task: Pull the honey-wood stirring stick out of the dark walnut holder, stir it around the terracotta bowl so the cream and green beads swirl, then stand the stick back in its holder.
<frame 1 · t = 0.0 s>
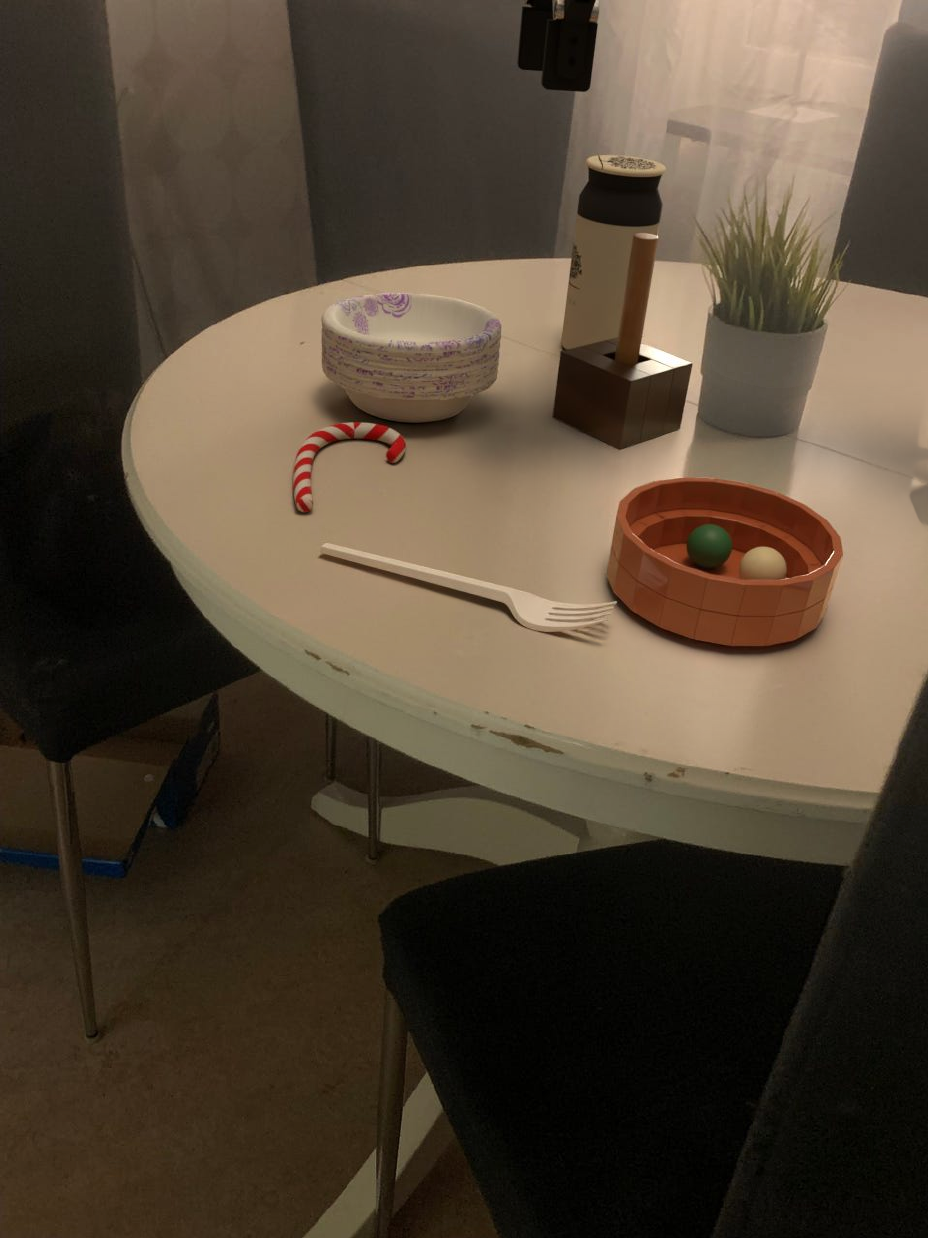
hand: (551, 79, 75), 27 cm above the table, tool pointing down, fingers open, 9 cm apart
green bead: (709, 546, 73), point 2 cm above the table, touching bowl
stick: (630, 333, 90), in the holder
paper bowls: (408, 405, 95), on the table
candy cane: (341, 475, 83), on the table
cream bead: (762, 569, 70), point 2 cm above the table, touching bowl
travel mug: (599, 351, 111), on the table
bowl: (713, 592, 72), on the table
holder: (616, 422, 95), on the table
fork: (458, 596, 69), on the table
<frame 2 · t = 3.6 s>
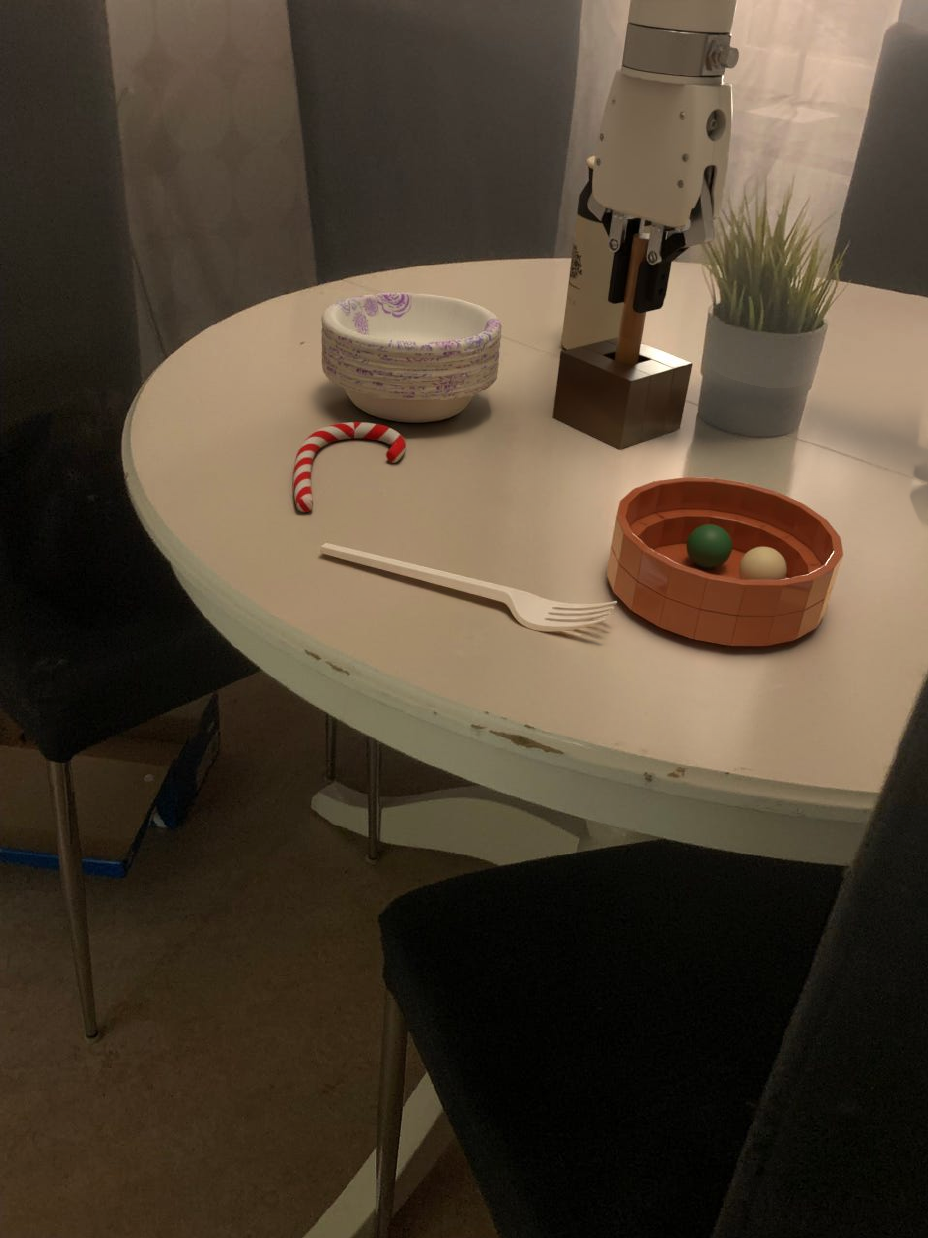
hand: (635, 303, 89), 11 cm above the table, tool pointing down, fingers closed on stick, 2 cm apart
stick: (630, 333, 90), in the holder, touching gripper
everything else where it was.
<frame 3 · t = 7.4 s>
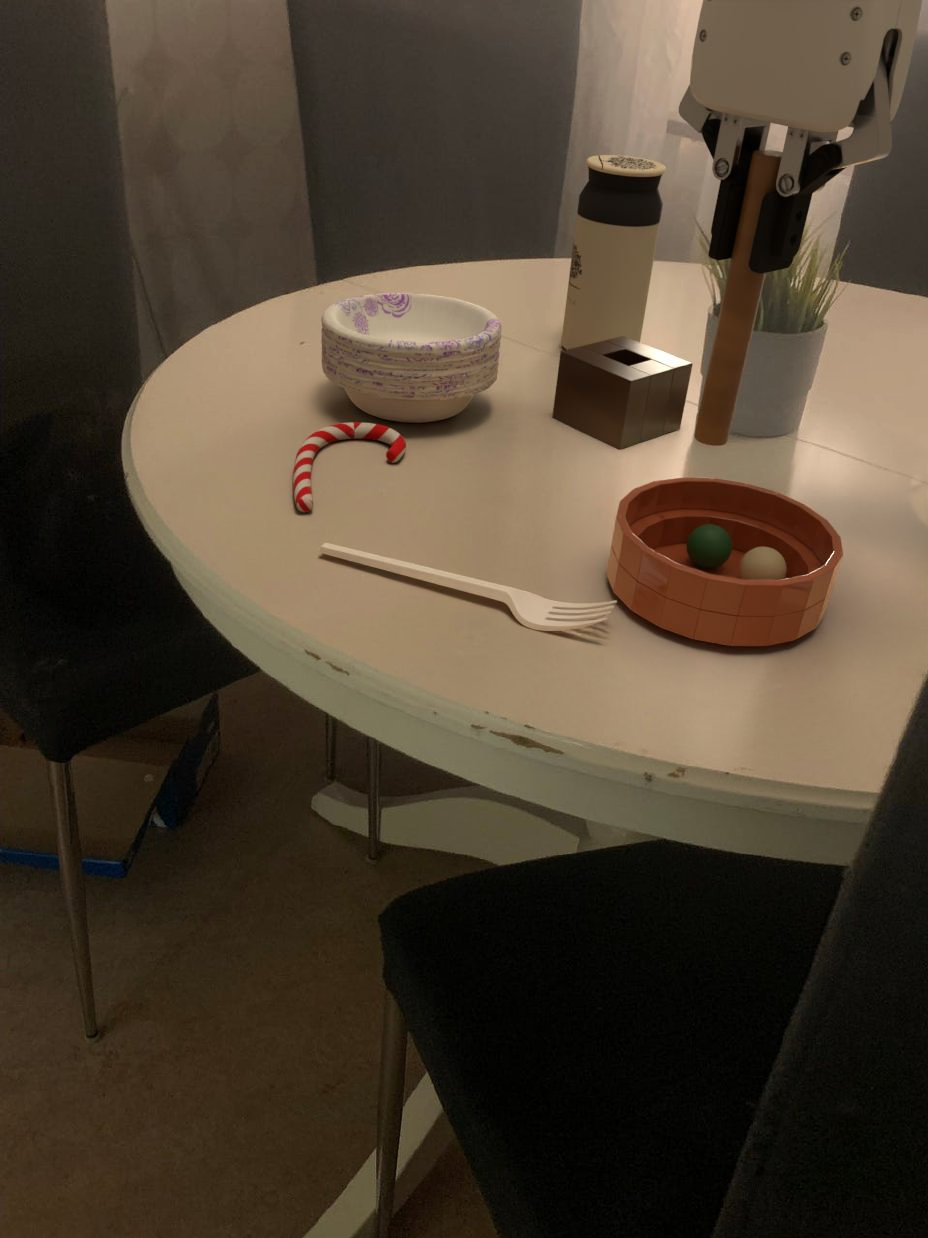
hand: (749, 260, 59), 22 cm above the table, tool pointing down, fingers closed on stick, 2 cm apart
stick: (739, 306, 60), point 19 cm above the table, touching gripper
everything else where it was.
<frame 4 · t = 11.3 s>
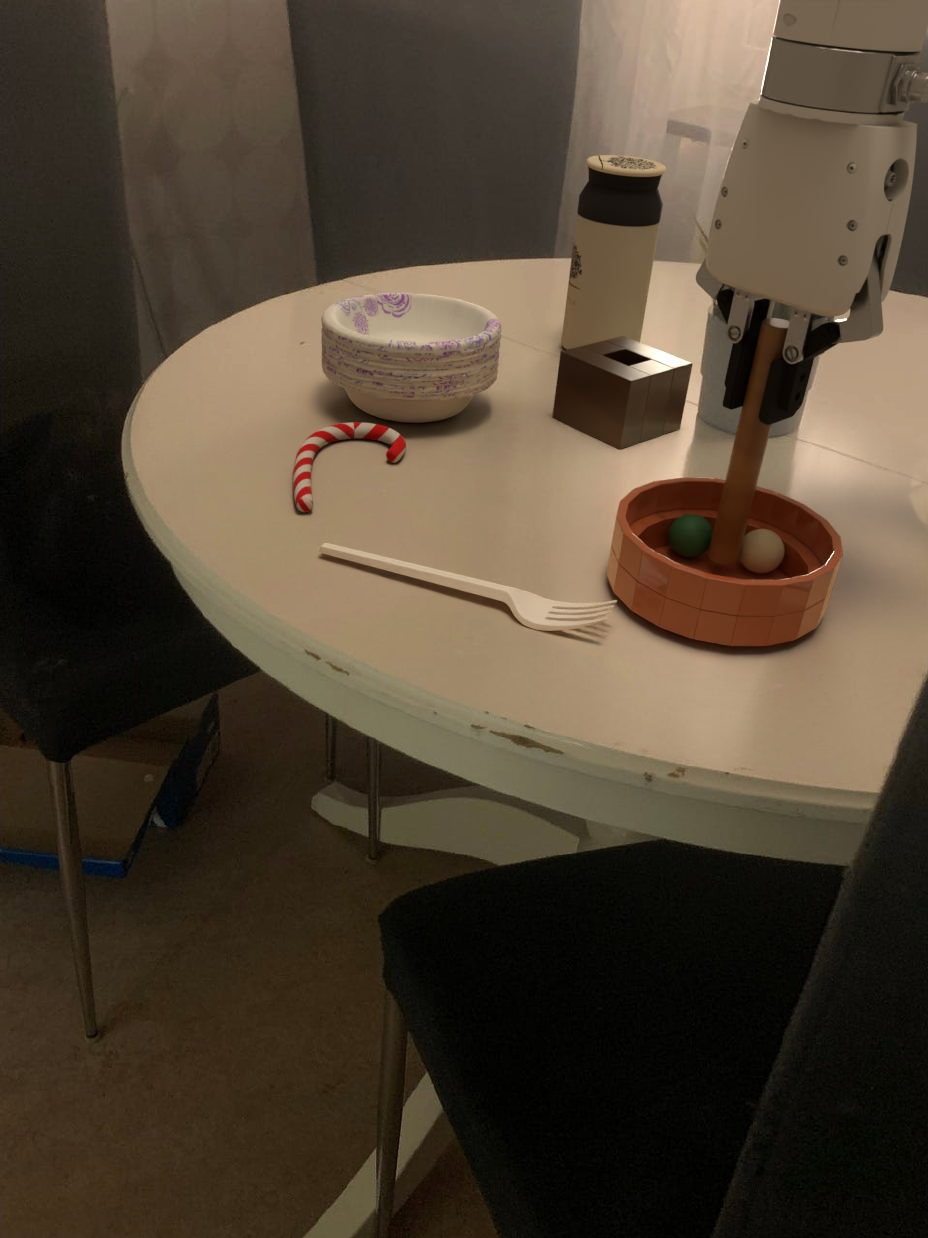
hand: (758, 409, 67), 12 cm above the table, tool pointing down, fingers closed on stick, 2 cm apart
green bead: (690, 535, 74), point 2 cm above the table, tilted 64°, touching bowl
stick: (749, 447, 68), point 10 cm above the table, touching gripper
cream bead: (761, 551, 73), point 2 cm above the table, tilted 67°, touching bowl
everything else where it was.
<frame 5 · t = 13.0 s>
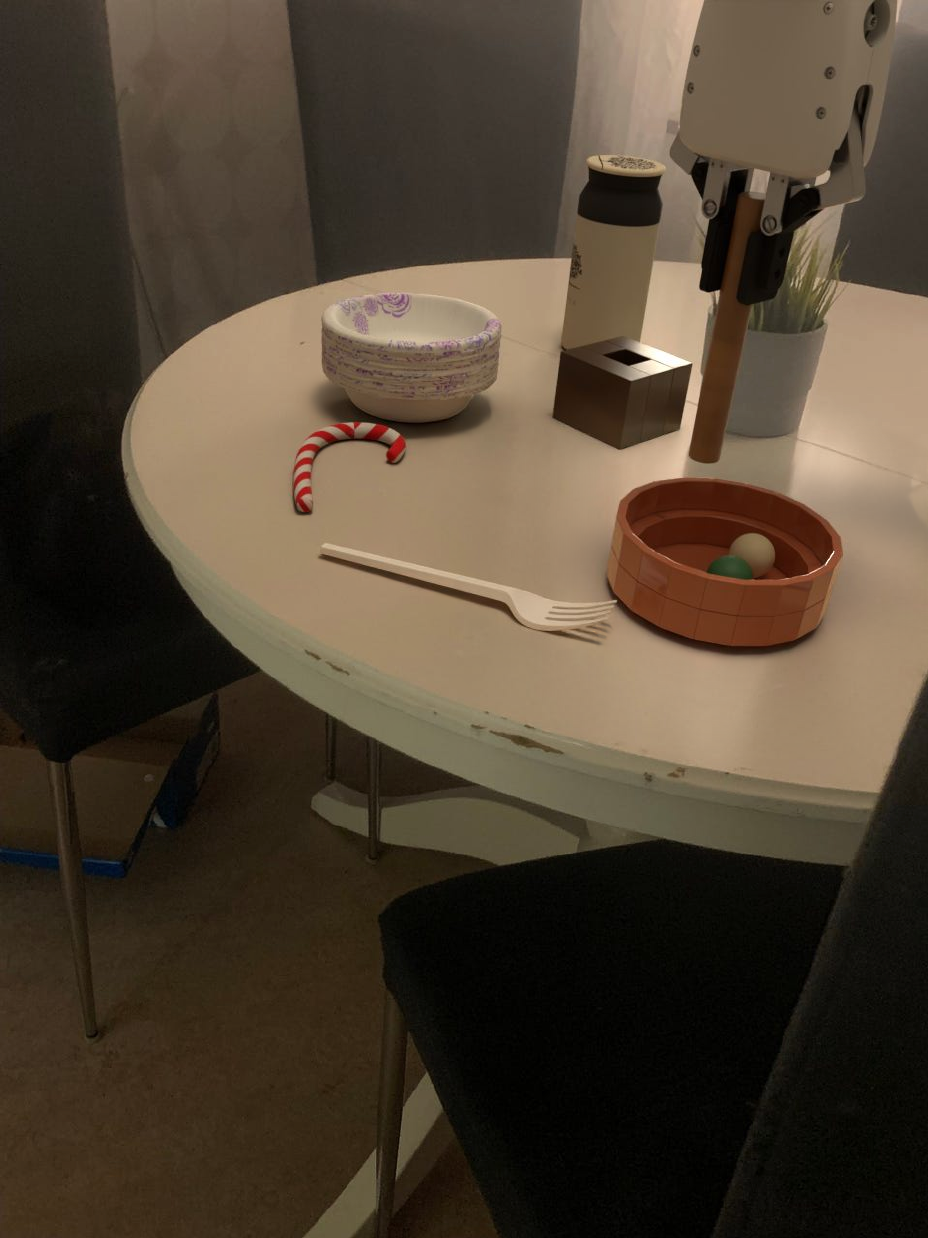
hand: (737, 291, 63), 19 cm above the table, tool pointing down, fingers closed on stick, 2 cm apart
green bead: (729, 578, 69), point 2 cm above the table, tilted 108°, touching bowl
stick: (728, 335, 65), point 16 cm above the table, touching gripper
cream bead: (751, 555, 72), point 2 cm above the table, tilted 52°, touching bowl
everything else where it was.
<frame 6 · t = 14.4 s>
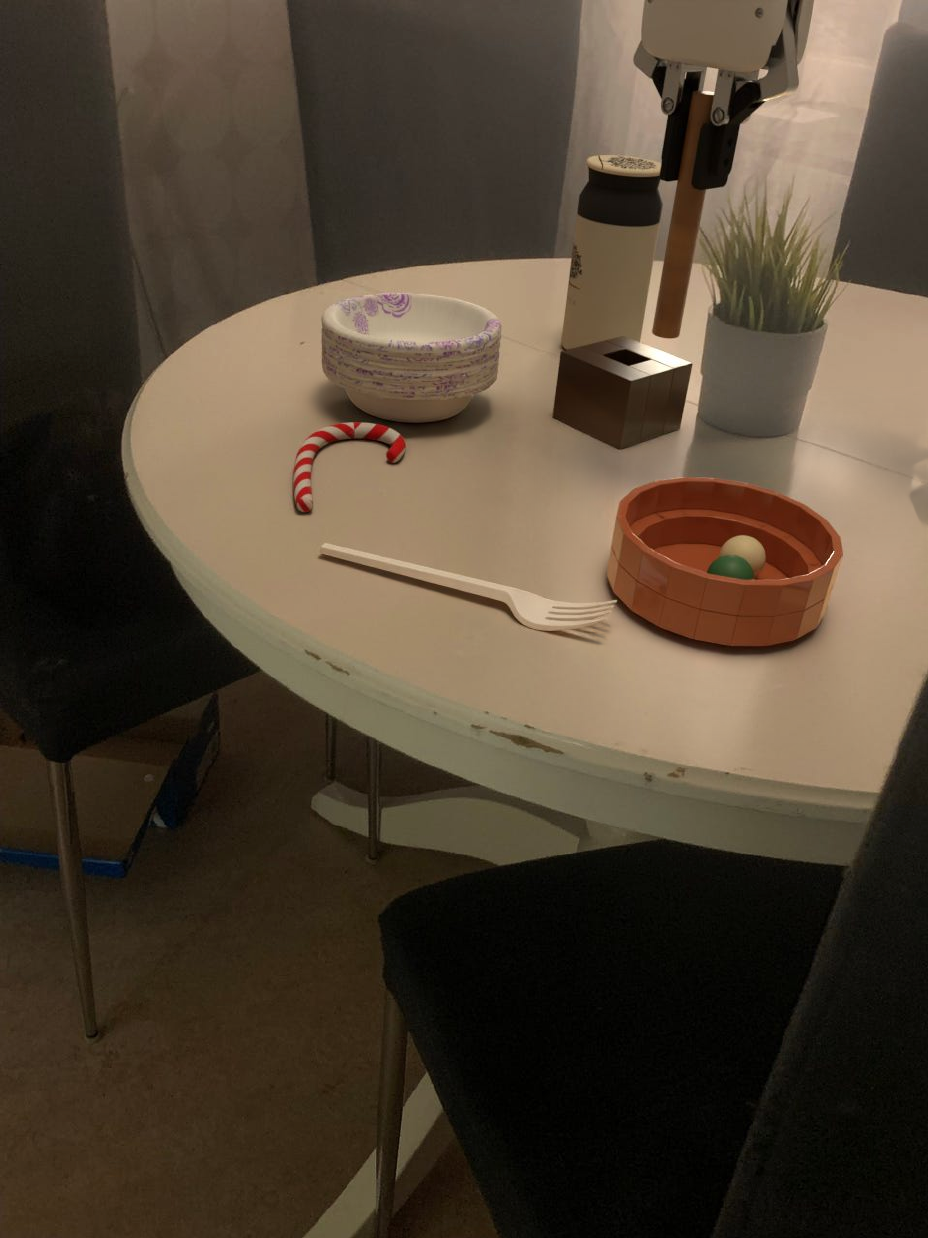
hand: (692, 180, 73), 22 cm above the table, tool pointing down, fingers closed on stick, 2 cm apart
stick: (685, 220, 74), point 20 cm above the table, touching gripper
cream bead: (742, 557, 72), point 2 cm above the table, tilted 47°, touching bowl
everything else where it was.
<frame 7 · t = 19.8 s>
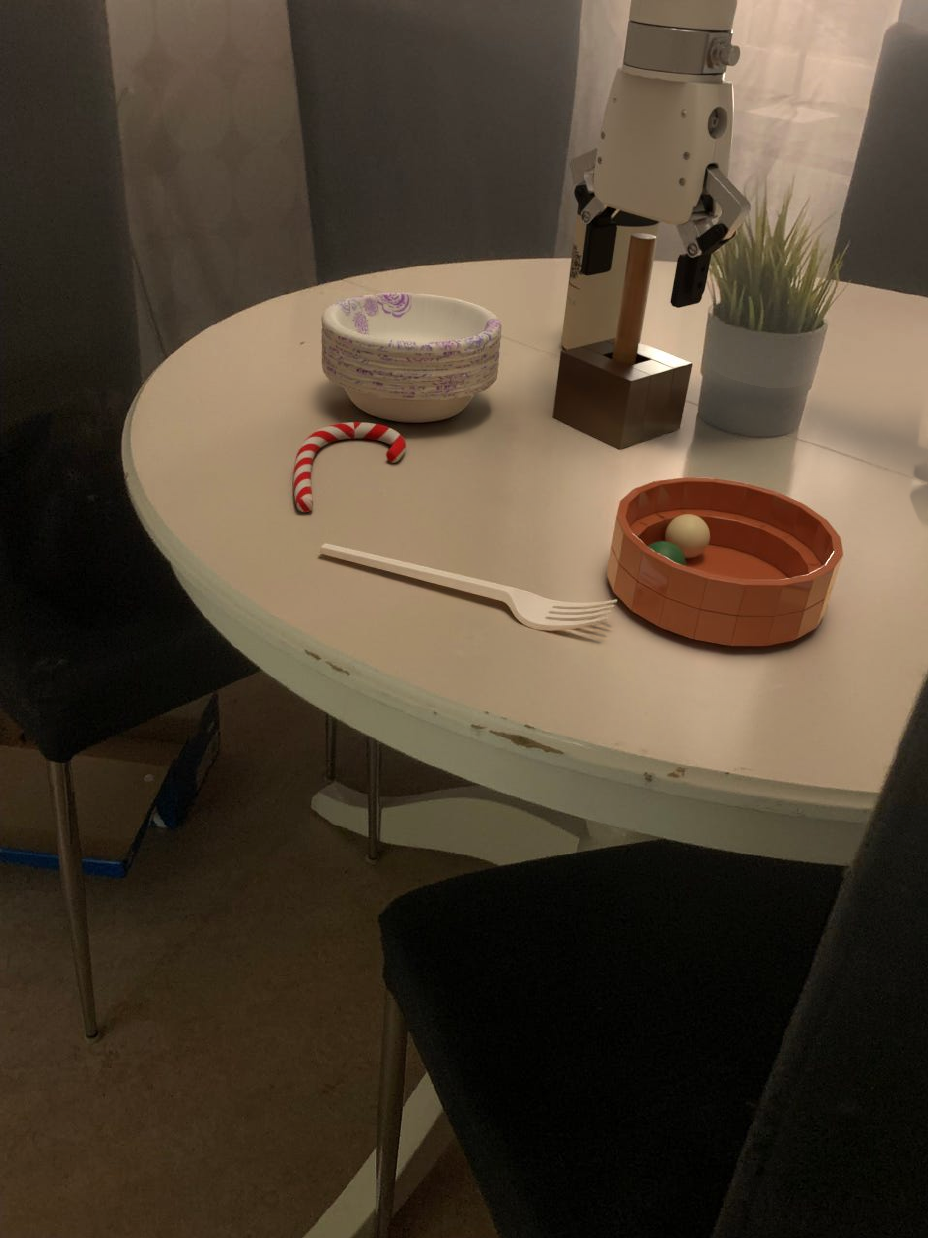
hand: (639, 287, 88), 12 cm above the table, tool pointing down, fingers open, 9 cm apart
green bead: (662, 564, 70), point 2 cm above the table, tilted 57°, touching bowl
stick: (628, 333, 90), in the holder
cream bead: (687, 536, 74), point 2 cm above the table, tilted 112°, touching bowl
everything else where it was.
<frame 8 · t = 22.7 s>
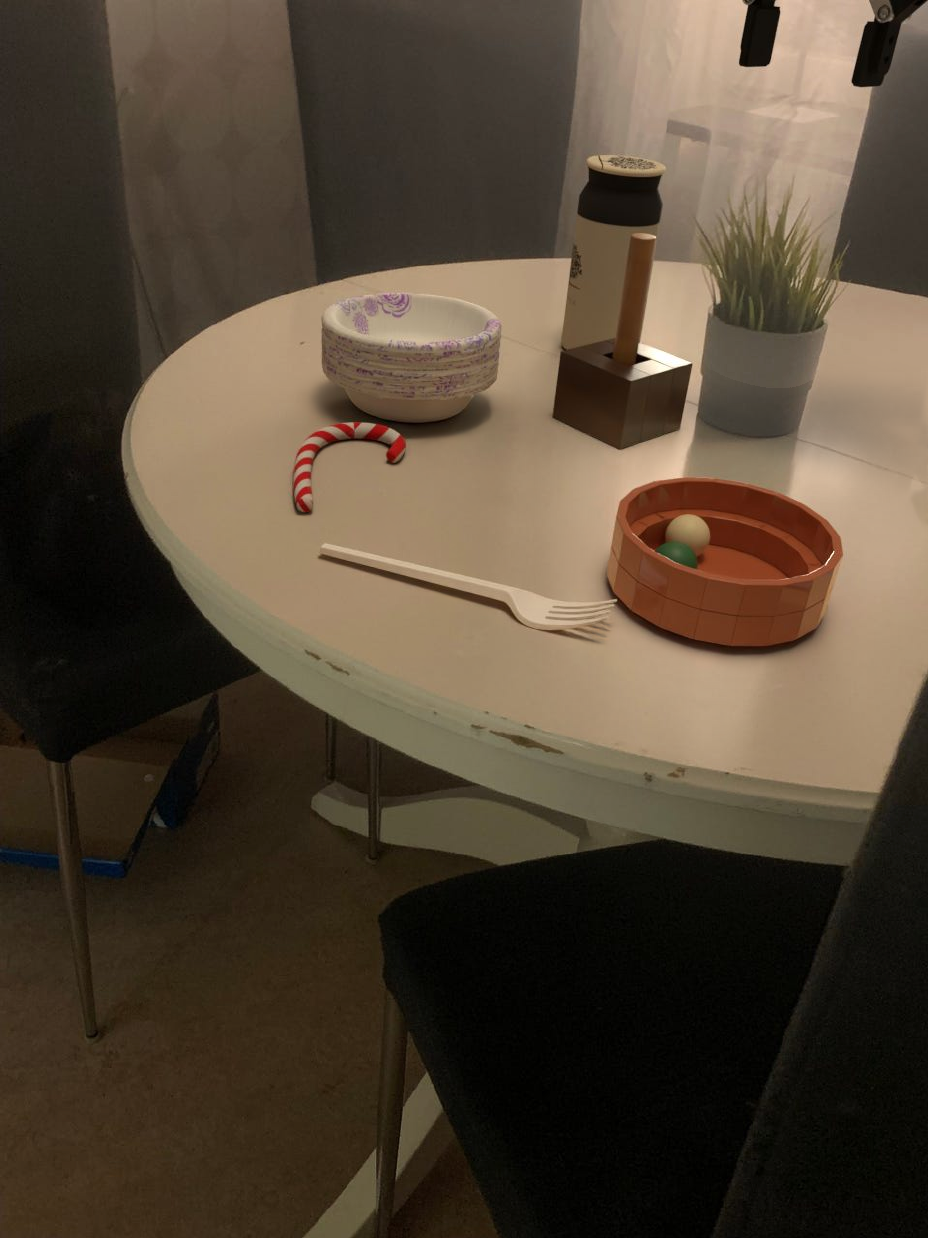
hand: (808, 75, 79), 28 cm above the table, tool pointing down, fingers open, 9 cm apart
green bead: (674, 564, 70), point 2 cm above the table, tilted 27°, touching bowl
everything else where it was.
at the end: stick 0.2 cm off-centre in the holder, point 8.0 cm above the holder's base; cream bead moved 5.8 cm from its start; cream bead inside the target area in the bowl (4.0 cm from its centre), point 2.1 cm above the bowl's base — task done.
